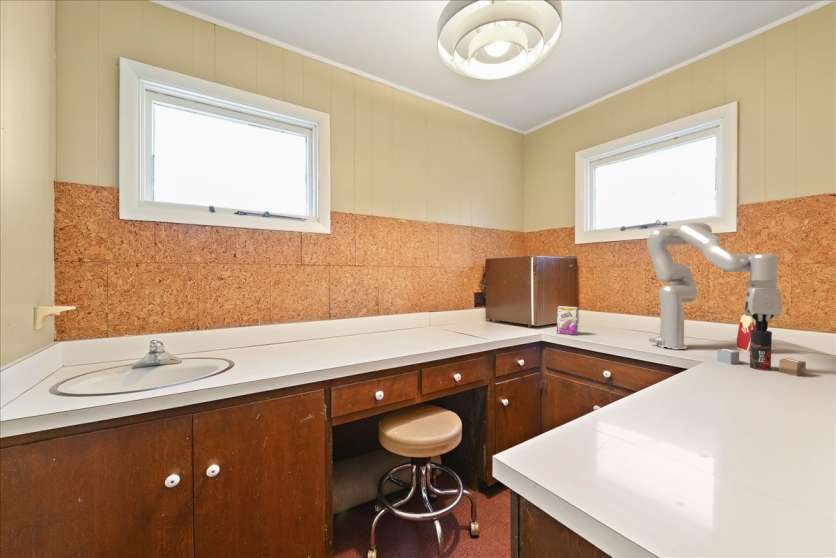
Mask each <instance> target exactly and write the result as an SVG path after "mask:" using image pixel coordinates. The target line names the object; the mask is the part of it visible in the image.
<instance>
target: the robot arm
mask: <svg viewBox="0 0 836 558" xmlns="http://www.w3.org/2000/svg"><path fill="white" fill-rule="evenodd" d="M688 244H690V245H691V246H692V247H694V248H695V249H697V250H698V251H700V252H702V255H703V257H704V258H705V260H706V261H707V262H709V263H710V264H711V265H713V266H715V267H716V268H717V269H719V270H721V271H723V272H724V271H725V272H728V273H737V272H738V273H746V272H749V280H748V281H747V282H746V283H745V285H746V286H748V287H747V290H746V292H745V297H744V303H743V304H744V305H743V308H744V309H743V311H745V312H744V314H745V315H746V316H751V317H752V318H753V319H754V320H756V330H757V331H761V332H763V331H764V332H767V331H768V327H769V326H768V324H769V322H770V321H771V320H772V319H773V318H778V317H780V314H782V312H783V299H782V293H781V290H780V288H777V287H778V286H777V285H778V262H779V261H778V260H779V257H778V254H775V253H757V254H756V253H755V254H753V253H752V254H751V253H731V252H729V251H727V250H726V249H724V248H722V247H721V246H720V244H721V238H720V237H719V236H718V235H716V234H714V233H713V229H712V227H711V226H710V225H709V224H706V223H704V222H686V223H683V224H681V225H680V226H679V227H678V228H663V227H662V228H657V229H655V230H653V231H651V232H650V234H649V235H648V237H647V240H646V247H647V251H648V253H649V256H650V258H651V262H652V264H653V269H654V272H655V275H656V278H657V280H658V281H660V282H662V283H670V284H666V285H664V286H662V287H660V289H659V291H658V300H659V303H660V324H659V325H660V327H659V328H660V330H659V331H660V332H659V336H658V335H657V337H656V338H654V337H649V338H648V341H649V343H656V344H657V345H660V346H664V347H669V348H677V349H685V350H687V349H686V348H689V347H688V345H686V344H685V309H684V306H683V304H685V303H686V304H687V303H692V302H694V301H695V300H696V298H698V290H697V289H698V288H697V285H696V283H695V279H694V277H693V276H694V275H693V272H692V271H691V269H690V268H689V267H688V266H687V265H686V264H683V263H676V262H675V261H674V259H673V255H672V253H671V252H670V250H669V249H668V248H667V247H666V246H682V245H688ZM671 283H672V284H671ZM752 313H753V314H752ZM657 345H656V346H657Z"/></svg>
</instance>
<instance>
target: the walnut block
mask: <svg viewBox="0 0 836 558" xmlns="http://www.w3.org/2000/svg"><path fill="white" fill-rule="evenodd" d="M806 365H807V361H802V360H798V359H793V358H790V357H789V358H782V359H779V364H778V373H781V374H785V375H789V376H794V377H800V376H801V375H802V376H806V368H807V367H806ZM802 376H801V377H802Z"/></svg>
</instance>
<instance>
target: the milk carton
mask: <svg viewBox="0 0 836 558" xmlns="http://www.w3.org/2000/svg"><path fill="white" fill-rule="evenodd" d="M743 311H744V314H743V315H741V316H740V321H739V324H738V329H737V335H736V342H735V349H736V348H738V349H737V350H739V349H741V350H740V351H742V350H743V351H742V352H744V351H746V352H745V353H747V352H750V338H751V330H756V320H754V319H753V318H752V317H751V316H746V315H745V310H743ZM752 314H753V313H752Z"/></svg>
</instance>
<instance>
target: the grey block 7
mask: <svg viewBox="0 0 836 558" xmlns="http://www.w3.org/2000/svg"><path fill="white" fill-rule="evenodd" d="M716 361H717V362H719V363H724V364H728V365H736V364H739V363H740V351H737V350H732V349H730V348H729V349H727V348H721V349H717V353H716Z"/></svg>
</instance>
